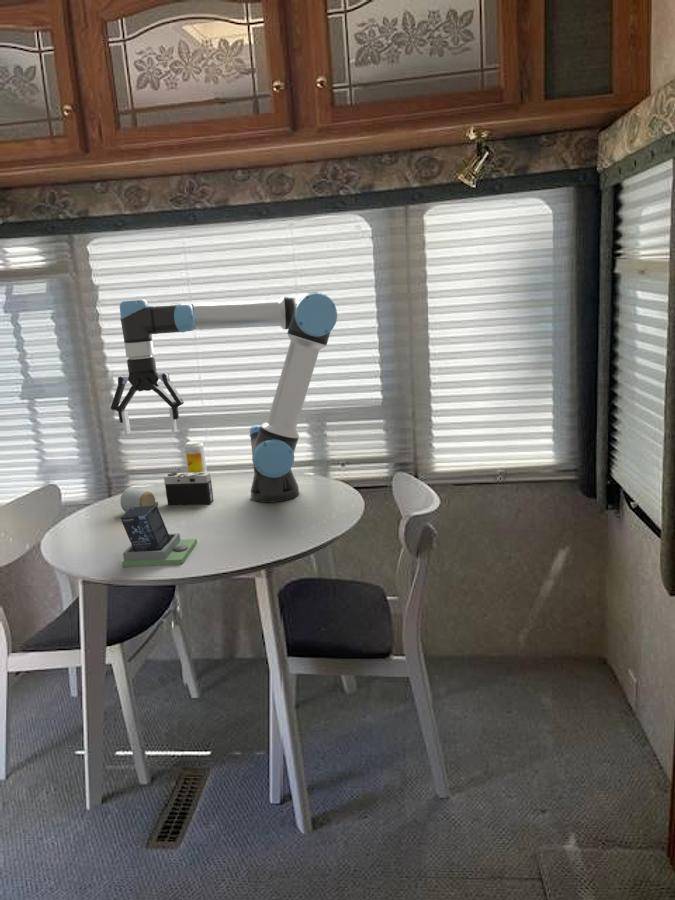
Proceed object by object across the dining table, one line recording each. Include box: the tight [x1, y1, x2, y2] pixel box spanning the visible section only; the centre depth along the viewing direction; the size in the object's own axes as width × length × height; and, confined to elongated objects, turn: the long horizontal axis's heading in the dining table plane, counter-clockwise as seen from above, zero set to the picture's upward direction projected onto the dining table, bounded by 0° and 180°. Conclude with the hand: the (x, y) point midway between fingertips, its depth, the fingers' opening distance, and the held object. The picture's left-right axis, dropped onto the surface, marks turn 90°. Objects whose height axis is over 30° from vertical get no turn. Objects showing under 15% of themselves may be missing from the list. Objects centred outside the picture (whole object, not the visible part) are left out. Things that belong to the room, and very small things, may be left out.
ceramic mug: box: [120, 487, 159, 513], centre depth 213 cm, size 11×8×8 cm
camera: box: [163, 471, 215, 507], centre depth 219 cm, size 14×8×10 cm, turn 81°
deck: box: [122, 533, 198, 567], centre depth 176 cm, size 15×14×3 cm
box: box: [120, 505, 171, 552], centre depth 174 cm, size 8×6×11 cm
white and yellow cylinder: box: [184, 440, 208, 473], centre depth 237 cm, size 6×6×15 cm
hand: (151, 432), depth 196 cm, fingers open, 13 cm apart
